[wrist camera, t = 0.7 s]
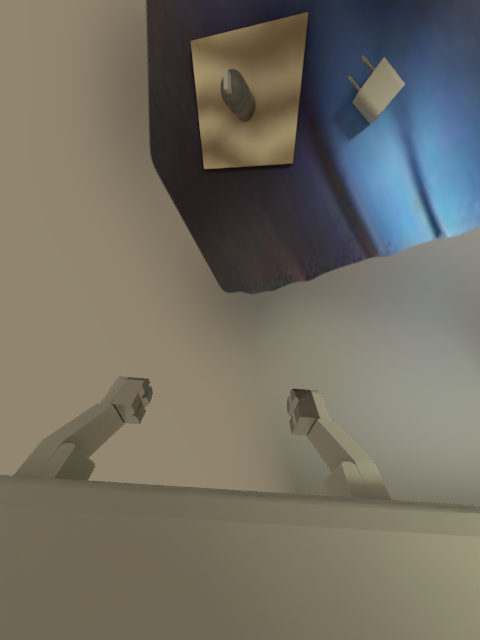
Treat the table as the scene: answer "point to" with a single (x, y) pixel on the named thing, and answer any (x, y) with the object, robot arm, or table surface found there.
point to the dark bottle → (237, 95)
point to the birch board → (266, 86)
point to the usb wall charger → (376, 89)
